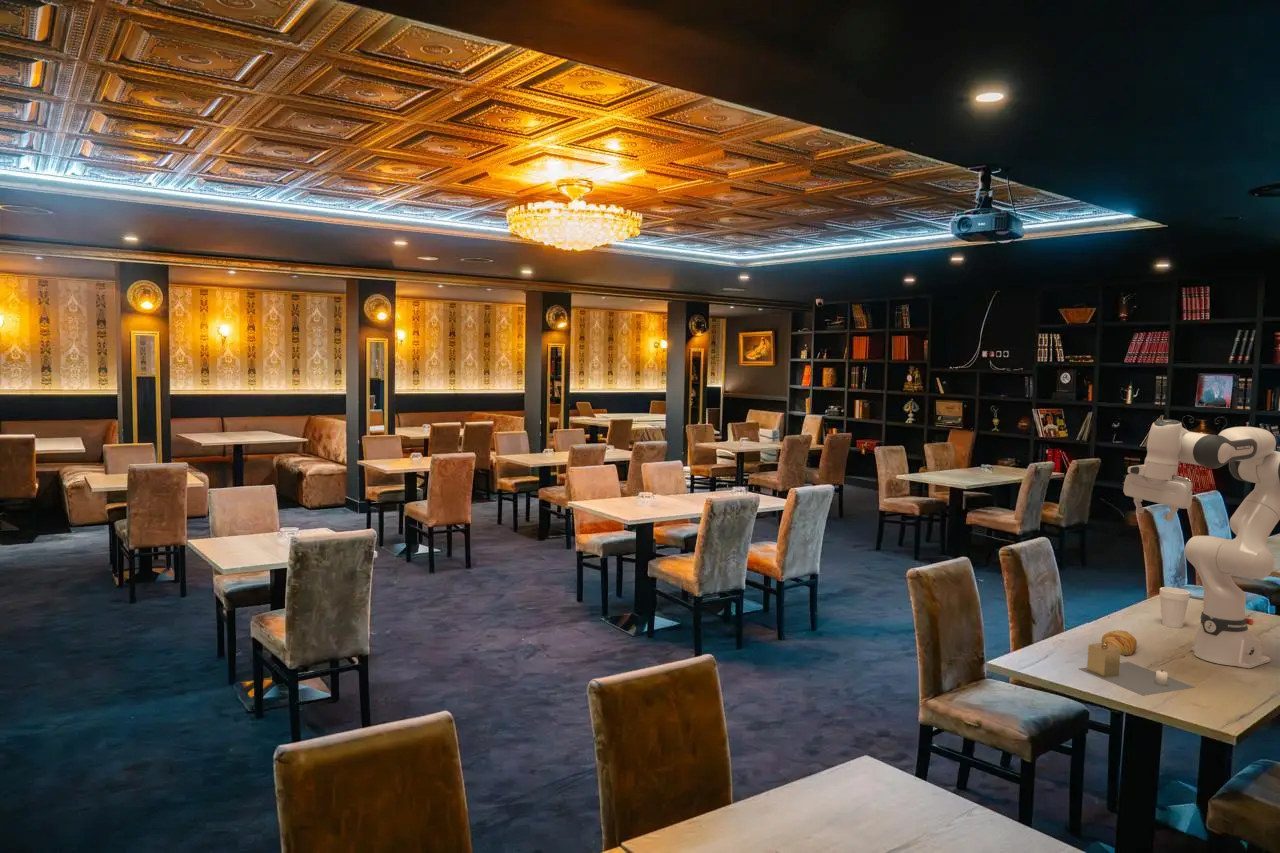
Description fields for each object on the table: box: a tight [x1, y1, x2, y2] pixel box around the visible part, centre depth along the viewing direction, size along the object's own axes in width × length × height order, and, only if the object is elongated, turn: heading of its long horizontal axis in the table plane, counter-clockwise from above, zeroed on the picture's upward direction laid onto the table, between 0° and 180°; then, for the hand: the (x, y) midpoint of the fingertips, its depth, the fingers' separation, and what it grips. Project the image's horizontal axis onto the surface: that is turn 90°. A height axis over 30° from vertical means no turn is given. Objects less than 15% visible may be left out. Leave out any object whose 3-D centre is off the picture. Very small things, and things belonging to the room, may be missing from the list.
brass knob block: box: [1086, 642, 1121, 677], centre depth 254 cm, size 6×6×9 cm
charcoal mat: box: [1078, 661, 1196, 697], centre depth 251 cm, size 21×22×1 cm
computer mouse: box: [1155, 669, 1168, 686], centre depth 246 cm, size 3×3×4 cm
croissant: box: [1101, 630, 1137, 657], centre depth 277 cm, size 21×10×8 cm, turn 129°
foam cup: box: [1158, 586, 1191, 629], centre depth 307 cm, size 10×9×13 cm
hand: (1153, 516), depth 259 cm, fingers open, 8 cm apart
